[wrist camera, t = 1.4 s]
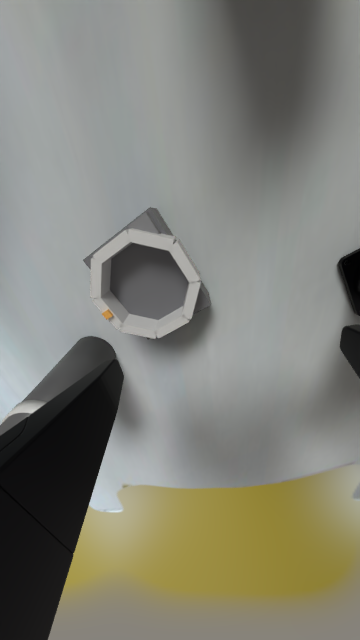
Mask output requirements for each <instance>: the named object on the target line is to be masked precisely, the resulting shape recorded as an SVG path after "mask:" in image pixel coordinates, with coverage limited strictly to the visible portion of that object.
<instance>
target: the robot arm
mask: <svg viewBox="0 0 360 640" xmlns="http://www.w3.org/2000/svg"><path fill="white" fill-rule="evenodd" d="M346 260H348V262H347V264H345V261H346ZM339 267H340V270H341V273H342V276H343V279H344V282H345V285H346V288H347V291H348V294H349V297H350V300H351V303H352V306H353V309H354V312H355V314H357V315H359V316H360V249H358V250H356V251H354V252H352V253H350V254H348V255H346V256H344V257H343V258H341V259H340V261H339ZM340 349H341V351H342V353H343V354H344V356H345V357H346V359H347V360H348V362H349V363H350V365H351V366H352V368H353V369H354V371H355V372H356V374H357V375H358V377H359V378H360V325H350V326H345V327H344V328H343V329H342V334H341V341H340ZM123 379H124V375H123V372H122V369H121V367H120V365H119V362H118V360H117V359H110V360H106V361H105V362H103V363H102V364H100V365H99V366H98V367H96V368H95V369H93V370H92V371H91V372H89V373H88V374H86V375H85V376H84V377H82V378H81V379H79V380H78V381H77V382H75V383H74V384H72V385H71V386H70V387H68V388H67V389H65V390H64V391H63V392H61V393H60V394H58V395H57V396H56V397H54V398H53V399H51V400H50V401H49V402H47V403H46V404H44V405H43V406H41V407H40V408H39V409H37V410H36V411H34V412H33V413H32V414H30V415H29V417H26V418H25V419H23V420H22V421H20V422H19V423H18V424H16V425H15V426H13V427H12V428H10V429H9V430H8V431H6V432H5V433H3V434H2V435H0V640H48V637H49V634H50V631H51V627H52V624H53V621H54V617H55V614H56V611H57V608H58V604H59V601H60V597H61V594H62V591H63V588H64V585H65V581H66V578H67V575H68V572H69V568H70V565H71V562H72V559H73V553H74V551H75V548H76V545H77V542H78V538H79V535H80V532H81V528H82V525H83V522H84V519H85V515H86V512H87V508H88V505H89V502H90V499H91V496H92V492H93V489H94V486H95V483H96V479H97V476H98V473H99V469H100V466H101V463H102V460H103V456H104V453H105V450H106V447H107V443H108V440H109V437H110V433H111V430H112V427H113V424H114V420H115V417H116V413H117V410H118V405H119V400H120V395H121V390H122V384H123Z"/></svg>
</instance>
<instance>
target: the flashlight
mask: <svg viewBox="0 0 360 640" xmlns="http://www.w3.org/2000/svg"><path fill="white" fill-rule="evenodd" d="M110 359H116V355H115V351H114V349H113V348H112V346H111V345H110V344H109V343H108V342H106V341H105V340H103V339H101V338H98V337H93V336H88V337H84V338H82V339H80V340H79V341H78V342H77V343H76V344H75V345H74V346H73V347H72V348H71V349H70V351H69V352H68V353H67V354H66V355H65V356H64V357H63V358H62V359H61V360H60V361H59V362H58V364H57V365H56V366H55V367H54V368H53V369H52V370H51V371H50V372H49V373H48V374H47V375H46V376H45V378H44V379H43V380H42V381H41V382H40V383H39V384H38V385H37V386H36V387H35V388H34V389H33V391H32V392H31V393H30V394H29V395H28V396H27V397H26V398H25V399H24V400H23V401H22V402H20V403H19V404H17V405H16V406H15V407H14V408H13V409H12V410H11V411H10V412H9V413H8V414H7V416H6V417H5V418H4V419H3V421H2V424H1V425H0V435H2V434H3V433H5V432H6V431H8V430H9V429H10V428H12V427H13V426H15V425H16V424H18V423H19V422H20V421H22V420H23V419H25V418H26V417H29V415H30V414H32V413H33V412H34V411H36V410H37V409H39V408H40V407H41V406H43V405H44V404H46V403H47V402H49V401H50V400H51V399H53V398H54V397H56V396H57V395H58V394H60V393H61V392H63V391H64V390H65V389H67V388H68V387H70V386H71V385H72V384H74V383H75V382H77V381H78V380H79V379H81V378H82V377H84V376H85V375H86V374H88V373H89V372H91V371H92V370H93V369H95V368H96V367H98V366H99V365H100V364H102V363H103V362H105V361H106V360H110Z"/></svg>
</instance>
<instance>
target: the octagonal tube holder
mask: <svg viewBox="0 0 360 640" xmlns="http://www.w3.org/2000/svg"><path fill="white" fill-rule="evenodd" d="M83 261H84V262H85V263H86V265H87V266H88V267H89V268H90V269H91V296H90V298H94V299H93V300H92V302H93V303H94V304H95V305H96V306H97V308H98V309H99V310H100V311H101V312H102V315H103V316H104V317H105V318H106V319H108V320H109V321H110V322H111V324H112V325H113V326H114V327H115V328H116V329H117V330H118V329H119V328H120V332H124V333H129V334H134V335H139V336H143V337H146V338H147V339H150V338H153V339H156V336H157V337H158V339H159V338H161V337H163V336H164V335H166V334H168V333H170V332H172V331H174V330H175V329H177V328H179V327H181V326H183V325H185V324H186V323H188V322H189V319H191V318H192V315H193V314H195V313H197V312H199V311H201V310H202V309H204V308H206V307H208V306H210V305H211V302H210V297H209V293H208V291H207V289H206V288H205V286H204V285H203V283H202V281H201V280H200V273H199V271H198V269H197V268H196V266H195V264H194V263H193V261H192V259H191V258H190V256H189V255H188V253H187V251H186V250H185V248H184V246H183V245H182V243H181V241H180V240H179V239H178V240H177V241H176V237H175V236H173V234H172V233H171V231H170V229H169V228H168V226H167V225H166V223H165V221H164V220H163V218H162V217H161V215H160V213H159V212H158V210H157V209H156V208H151V207H150V208H148V209H147V210H146V211H145V212H143V213H142V214H141V215H140V216H138V217H137V218H136V219H134V220H133V221H132V222H131V223H129V224H128V225H127V226H126V227H124V228H123V229H122V230H121V231H119V232H118V233H117V234H115V235H114V236H113V237H112V238H110V239H109V240H108V241H107V242H105V243H104V244H103V245H101V246H100V247H99V248H98V249H96V250H95V251H94V252H93V253H91V254H90V255H89V256H88V257H86V258H85V259H84V260H83Z"/></svg>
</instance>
